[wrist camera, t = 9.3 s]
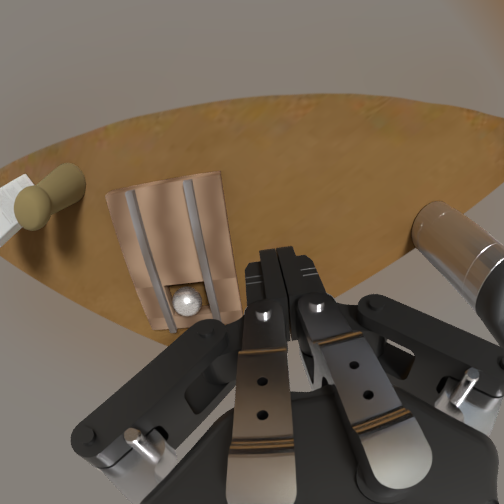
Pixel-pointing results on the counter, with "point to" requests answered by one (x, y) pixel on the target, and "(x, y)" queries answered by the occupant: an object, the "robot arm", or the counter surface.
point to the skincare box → (10, 207)
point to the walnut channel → (177, 246)
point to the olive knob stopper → (49, 196)
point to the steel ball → (187, 301)
